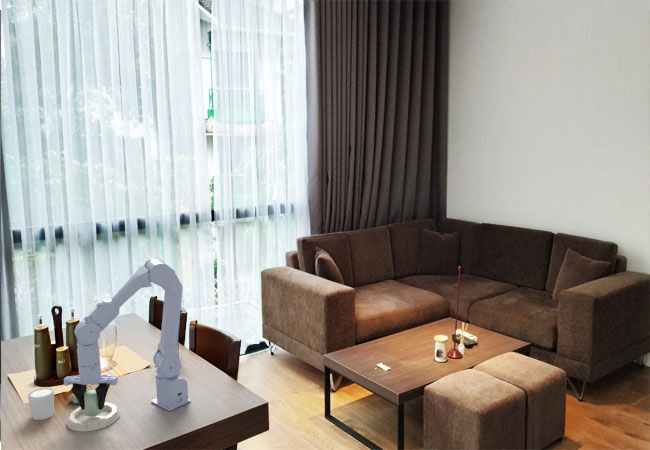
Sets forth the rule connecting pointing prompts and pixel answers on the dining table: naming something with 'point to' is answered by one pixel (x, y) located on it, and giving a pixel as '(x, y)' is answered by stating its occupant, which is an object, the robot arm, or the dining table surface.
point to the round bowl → (93, 419)
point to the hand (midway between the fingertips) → (93, 408)
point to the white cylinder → (41, 403)
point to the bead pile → (73, 399)
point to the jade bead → (91, 403)
